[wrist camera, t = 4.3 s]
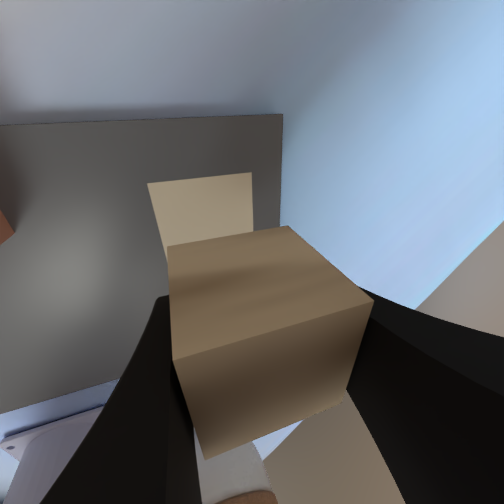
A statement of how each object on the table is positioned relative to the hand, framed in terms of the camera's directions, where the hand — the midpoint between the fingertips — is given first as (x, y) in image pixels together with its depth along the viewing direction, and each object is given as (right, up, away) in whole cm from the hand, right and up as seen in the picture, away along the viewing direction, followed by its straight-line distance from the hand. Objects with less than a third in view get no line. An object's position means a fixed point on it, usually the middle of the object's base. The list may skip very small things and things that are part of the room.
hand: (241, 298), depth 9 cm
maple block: (0, 0, +1) cm, 1 cm away
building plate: (-8, 0, +7) cm, 11 cm away
